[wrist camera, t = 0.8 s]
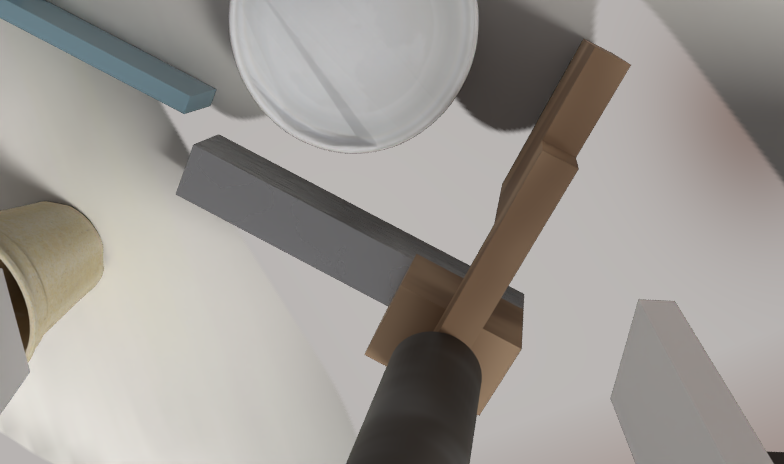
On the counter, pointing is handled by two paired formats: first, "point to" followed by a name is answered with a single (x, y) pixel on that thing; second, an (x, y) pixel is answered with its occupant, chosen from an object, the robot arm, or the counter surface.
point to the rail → (307, 220)
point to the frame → (108, 54)
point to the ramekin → (353, 65)
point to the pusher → (476, 293)
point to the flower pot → (47, 264)
